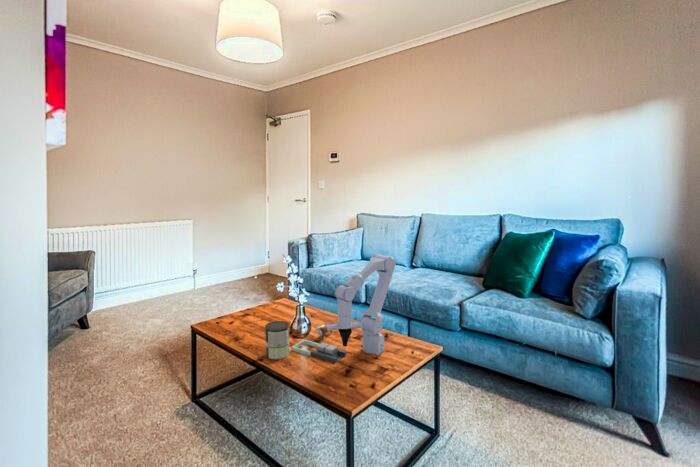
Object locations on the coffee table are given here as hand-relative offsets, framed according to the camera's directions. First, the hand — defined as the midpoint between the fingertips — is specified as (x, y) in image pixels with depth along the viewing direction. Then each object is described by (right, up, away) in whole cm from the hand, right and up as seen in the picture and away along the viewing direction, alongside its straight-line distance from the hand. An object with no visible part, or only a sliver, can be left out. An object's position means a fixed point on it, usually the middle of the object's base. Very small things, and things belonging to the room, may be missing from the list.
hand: (344, 345), depth 156 cm
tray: (-17, -6, +12) cm, 22 cm away
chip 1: (-10, -6, +7) cm, 13 cm away
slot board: (-7, -7, +6) cm, 11 cm away
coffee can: (-29, -7, +7) cm, 31 cm away
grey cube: (-6, -6, +5) cm, 10 cm away
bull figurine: (-10, -5, +25) cm, 28 cm away
